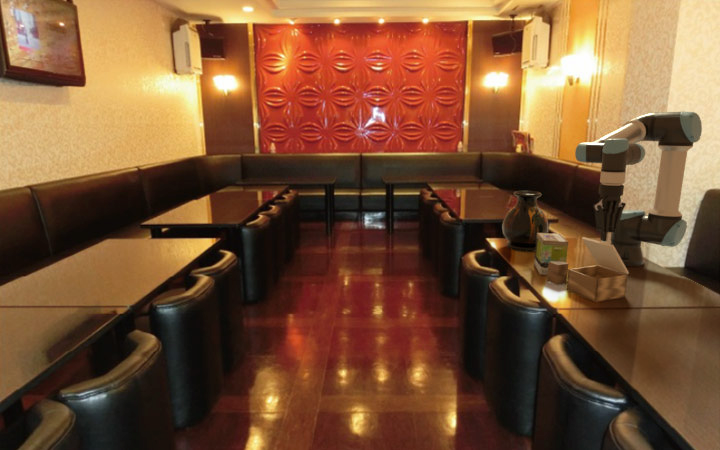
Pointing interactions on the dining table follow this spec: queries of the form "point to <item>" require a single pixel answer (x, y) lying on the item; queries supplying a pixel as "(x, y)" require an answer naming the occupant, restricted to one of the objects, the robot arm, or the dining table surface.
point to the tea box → (549, 250)
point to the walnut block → (557, 272)
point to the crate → (596, 283)
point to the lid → (605, 255)
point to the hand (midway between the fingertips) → (604, 249)
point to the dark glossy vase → (524, 222)
